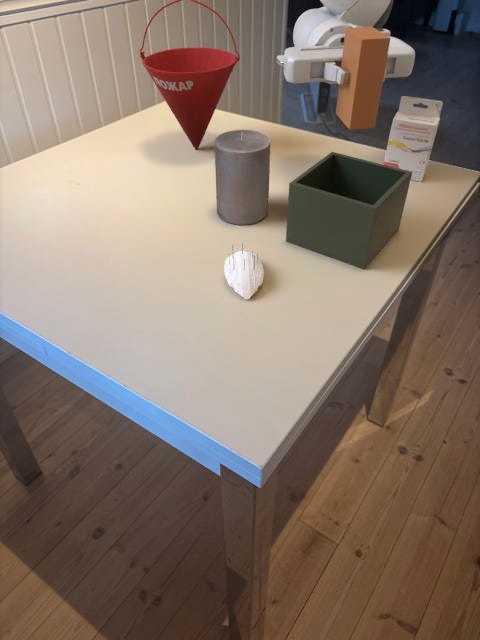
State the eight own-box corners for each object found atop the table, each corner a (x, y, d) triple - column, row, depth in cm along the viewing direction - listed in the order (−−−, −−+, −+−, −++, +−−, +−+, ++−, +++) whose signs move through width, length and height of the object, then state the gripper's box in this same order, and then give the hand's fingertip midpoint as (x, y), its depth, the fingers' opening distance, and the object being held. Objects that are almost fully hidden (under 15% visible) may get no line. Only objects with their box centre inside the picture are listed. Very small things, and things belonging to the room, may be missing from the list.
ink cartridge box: (380, 175, 103) (394, 102, 93) (385, 165, 106) (399, 94, 96) (422, 182, 100) (441, 108, 90) (426, 172, 103) (445, 100, 93)
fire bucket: (137, 162, 109) (112, 4, 89) (167, 130, 123) (151, -13, 103) (231, 171, 105) (227, 7, 85) (250, 136, 119) (251, -11, 99)
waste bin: (325, 206, 93) (331, 151, 86) (398, 229, 86) (412, 171, 79) (285, 241, 84) (289, 183, 77) (364, 269, 78) (376, 208, 70)
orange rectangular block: (359, 112, 78) (372, 26, 70) (375, 128, 73) (390, 37, 65) (335, 113, 78) (345, 27, 70) (349, 129, 73) (361, 39, 65)
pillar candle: (215, 201, 95) (211, 123, 85) (265, 198, 96) (267, 120, 86) (218, 227, 88) (215, 145, 78) (272, 224, 88) (275, 142, 78)
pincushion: (223, 256, 81) (221, 226, 77) (259, 254, 81) (260, 224, 77) (226, 302, 72) (224, 270, 68) (267, 299, 72) (268, 268, 68)
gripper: (274, 34, 78) (294, 57, 67) (397, 28, 80) (434, 49, 70) (273, 77, 82) (292, 104, 72) (389, 70, 84) (424, 95, 74)
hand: (363, 77), depth 71 cm, fingers closed on orange rectangular block, 4 cm apart
